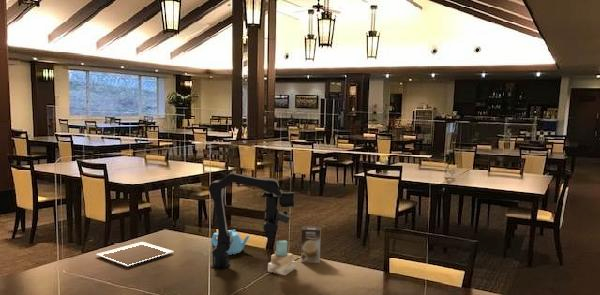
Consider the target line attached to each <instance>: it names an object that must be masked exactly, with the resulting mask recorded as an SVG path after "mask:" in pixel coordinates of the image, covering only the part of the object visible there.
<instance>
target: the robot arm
mask: <svg viewBox="0 0 600 295" xmlns="http://www.w3.org/2000/svg"><path fill="white" fill-rule="evenodd" d="M231 183H236V184H241V185H245V186H250V187H254V188H258V189H260V190H262V191H263V193H262V194H261V198H265V206H264V209H265V210H264V223H263V231H264V234H265V236H266V239H267V241H268V244H272V243H273V239H274V235H275V233H276V232H278V230H279V228H278V227H279V221H280V222H283V223H284V224H286V225H288V224H289V221H290V219H291V215H290V214H288V211H287V210H283V211H279V206H281V208H295V192H294V191H291V192H283V190H282V189H281V187H280V185H279V181H278V180H277V179H276V178H271V177H270V178H269V177H264V178H263V177H262V178H261V177H260V178H259V177H254V176H250V175H244V174H241V173H236V172H229V174H228V175H226V176H224V177H223V178H221V179H219V180H218V179H217V180H214V181H213V182H211V184H209V186H208V192H209V194H210V198H211V200H212V201H213V204H214V212H215V218H216V219H215V220H216V225H217V226H216V227H217V233H218V237H217V239H216V241H217V245H216V247H215V246H214V248H213V250H212V265H210V267H211V268H214V269H220V270H224V269H225V268H227V267H229V266H231V264H230V262H229V259H230V258H229V255H228V253H227V251H228V250H229V249H230V247H231V244H232V242H233V239H232V232H231V233H229V232H228V230H229V229H228V225H227V218H226V213H225V212H226V211H225V205H224V195H225V194H224V193H225V188H226V187H227V186H229V185H230V184H231Z"/></svg>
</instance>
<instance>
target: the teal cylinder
mask: <svg viewBox="0 0 600 295" xmlns="http://www.w3.org/2000/svg"><path fill="white" fill-rule="evenodd" d="M275 242H276V243H275V244H276V245H275V247H276V248H275V250H276V252H275V253H276V255H277V256H287V253H288V241H287V240H283V239H279V240H276V241H275Z"/></svg>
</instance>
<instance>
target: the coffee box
mask: <svg viewBox="0 0 600 295" xmlns="http://www.w3.org/2000/svg"><path fill="white" fill-rule="evenodd" d="M321 233H322V228H321V226H308V225H307V226H306V225H302V227H301V248H300V250H301V251H300V263H307V264H308V263H309V264H310V263H313V264H320V262H321V236H322V234H321Z"/></svg>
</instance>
